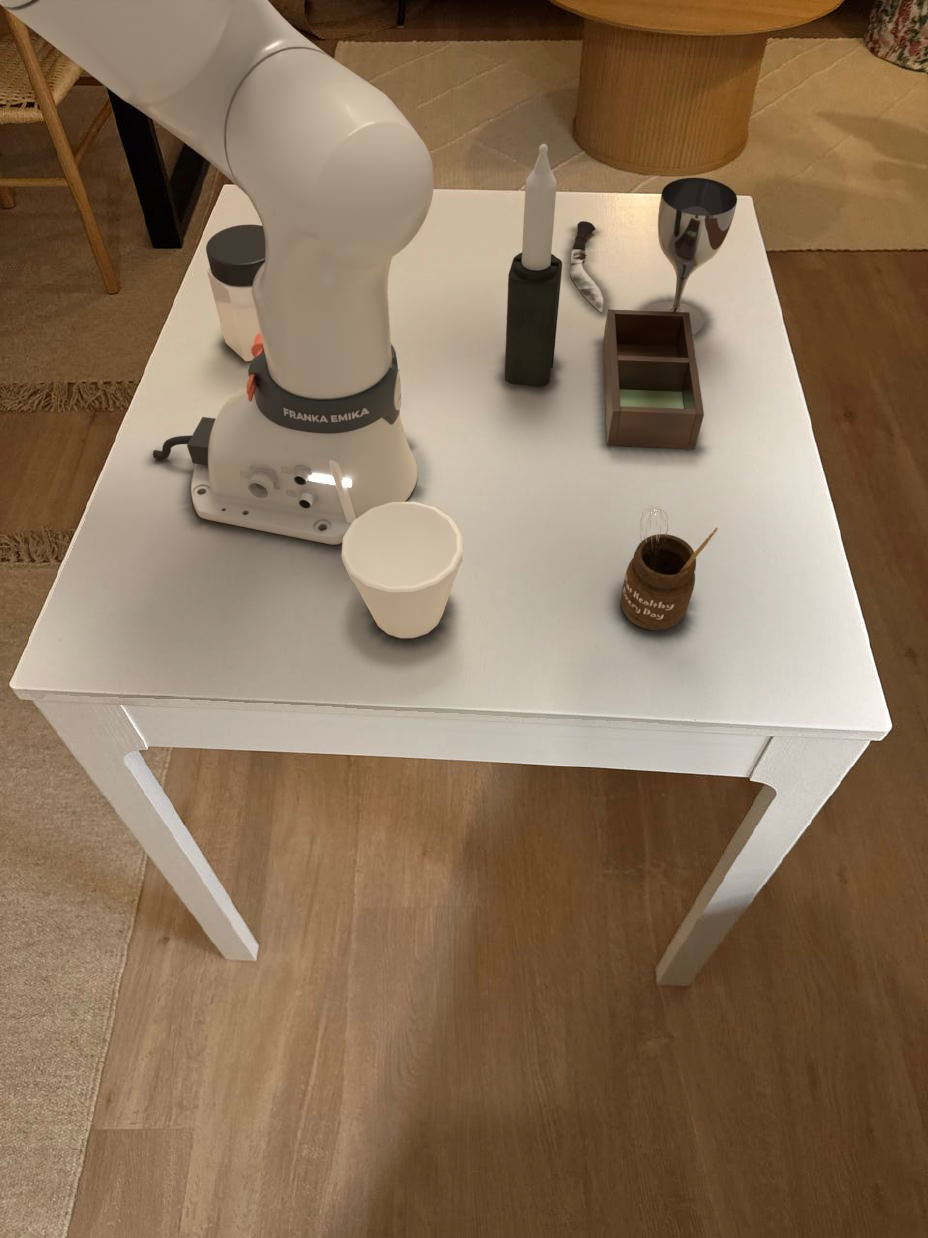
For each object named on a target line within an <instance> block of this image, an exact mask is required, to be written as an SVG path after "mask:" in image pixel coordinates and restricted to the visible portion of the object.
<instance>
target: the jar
mask: <svg viewBox="0 0 928 1238" xmlns="http://www.w3.org/2000/svg"><path fill="white" fill-rule="evenodd" d="M205 252H206V257H207V260H208V264H209V268H208V269H207V276H208V279H209V280H208V281H209V284H210V288H211V293H212V296H213V300H214V303H215V308H216V312H217V315H218V319H219V323H220V328H221V331H222V335H223V339H224V342H225V344H226V345H227V346H228V347H229V348H230V349H231V350H233V352H235V353H236V354H237V355H238V356H239V357H240V358H241V359H242V360H243V361H244V362H251V361H252V360H253V359H254V358H255V357H254V356H253V355H252V352H251V348H252V346H253V345H254V339H255V337H256V335H257V334H258V333H260V329H259V324H258V319H257V315H256V310H255V305H254V301H253V296H252V286H253V281H254V278H255V276H256V273H257V272H258V270H259V268H260V267H261V266H262V265H263V263H265V234H264V229H263V226H262V224H261V225H260V224H238V225H234V226H230V227H227V228H224V229H222V230H220V231H218V232H216V233H214V234H213V236H211V237H210V238H209V240H208V241H207V242H206V245H205Z"/></svg>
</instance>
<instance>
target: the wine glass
mask: <svg viewBox="0 0 928 1238" xmlns="http://www.w3.org/2000/svg"><path fill="white" fill-rule="evenodd" d="M660 194H661V195H660V201H659V205H658V214H657V238H658V244H659V248H660V249H661V252H662V253H663V255H664V256H665V257H666V259H667V260H668V262H669V263H670V264H671V265H672V267H673V270H674V272H675V278H676V280H675V291H674V292H675V294H674V299H673V301H660V302H657V303H655V304H652V305H650V306H648V308H647V309H645V311H666V312H689V313H690V320H691V327H692V334H693V336H694V335H696V334H697V333H699V332H700V331H701V330H702V329H703V327H704V323H705V321H704V317H703V315H702V313H701V312H700V311H699V310H698V309H697V308H695V307H693V306H691V305H689V304H687V303H683V302H682V297H683V294H684V291H685V288H686V285H687V283H688V280H689V278H690V276H691V275H692V274H693V273H694V272H695V271H696V270H697V269H699V268H700V267H701V266H704V265H705V264H707V262H709V261H710V260H711V259H713V258H714V257H715V256H716V255H717V254H718V253H719V251H720V250H721V248H722V246H723V245H724V242H725V241H726V238H727V236H728V235H729V232H730V229H731V226H732V224H733V221H734V217H735V213H736V208H737V203H738V195H737V194H736V192H735V191H734V190H733V189H732V188H731V187H730V186H727V185H726V184H724V183H722V182H720V181H718V180H715V179H709V178H704V177H684V178H678V179H676V180H674V181H671V182H669V183H668V184H666V185H665V186H664V187H663V189H662V191H661V193H660Z"/></svg>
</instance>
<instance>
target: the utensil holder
mask: <svg viewBox="0 0 928 1238" xmlns="http://www.w3.org/2000/svg"><path fill="white" fill-rule="evenodd" d="M646 510H647V508H646V509H645V508H644V510H643V511H642V513H641V518H640V519H639V524H640V527H643V517H644V516H645V515H646V514H647V513H649V515H648V518H647V521H646V525H645V535H647V533H648V531H647V530H648V522H649V524H650V525H649V528H650V530H652V513H654V516H655V518H657V514H656V512H657V513H658V514H660V512H663V513H664V514H665V515H666V516H668V514H667V512H665V510H663V509H661V507H659V506H655V508H654V507H653V506H650V508H649V510H647V511H646ZM645 511H646V512H645ZM659 511H660V512H659ZM644 512H645V513H644ZM661 518H663V521H664V524H665V527H666V532H665V533H659V534H658V533H656V534H653V535H652V534H650V536H645V535H644V531H643V529H641V533H642V536H643V539H642V536H641V534H639V537H640V543H639V544H638V545H637V547H636V549H635V550H634V553H633V557H632V558H631V560H630V562H629V563H628V566H627V568H626V571H625V576H624V579H623V583H622V589H621V593H620V594H621V596H620V598H621V599H620V604H621V608H622V611H623V613H624V615H625V616H626V618H627V619H628V620H629V621H630V622H631V623H632V624H634V625H636V626H637V627H638V628H639V627H640V628H641V629H644V630H648V631H664V630H668V629H671V628H673V627H675V626H677V625H678V624H679V623H680V622H681V621H682V619H683V618H684V616H685V615H686V613H687V611H688V608H689V605H690V601H691V599H692V595H693V592H694V588H695V584H696V570H697V569H696V568H697V557H698V556H699V555H700V554H701V552H703V550H704V549H705V547H706V546H707V545H708V543H709V542H710V541H711V539H712V538H713V536H714V535H715V534H716V532H717V531H718V530H719V528H718V527H715V528H714V530H713V531H711V533H710V534H709V535H708V536H707V537H706V538H705V540H704V541H703V542H702V543H701V544H700V546H699V547H698V548H697V549H696V550H694V549H693V547H692V546H691V545H690V544H689V543H688V542H687V541H686V540H684V539H682V538H680V537H678V536H676V535H672V534H668V530H669V529H668V528H669V521H668V520H669V519H668V518H669V517H666V519H665V517H664V516H663V515H661ZM649 520H650V521H649ZM657 521H658V520H657V519H655V523H656V526H658V522H657ZM659 527H660V528H659V532H661V530H662V526H659Z"/></svg>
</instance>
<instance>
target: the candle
mask: <svg viewBox="0 0 928 1238" xmlns="http://www.w3.org/2000/svg"><path fill="white" fill-rule="evenodd" d="M538 152H539V154H538V156H537V159H536V162H535V164H534V167H533V170H532V171H531V172H530V174H529V175H528V176H527V177H526V180H525V190H524V205H523V206H524V210H523V212H524V213H523V225H522V226H523V227H522V247H521V248H522V249H521V252H519V253H518V254H516V255H515V256H514V257H513V258H512V261H511V265H510V268H509V272H508V274H507V275H508V276H507V277H508V279H507V301H506V302H507V303H506V304H507V305H506V328H505V354H504V376H503V377H504V380H505V382H506V383H508V384H510V385H517V386H523V387H530V388H531V387H532V388H544V387H547V386H548V385H549V384H550V381H551V373H552V371H551V369H552V368H554V362H555V361H554V360H555V351H556V350H555V349H556V339H557V338H556V337H557V327H558V317H559V316H558V315H559V306H560V295H561V284H562V283H561V282H562V273H563V262H562V260H561V259H560V258H558V257H557V256H556V255H555V254H553V253H552V250H553V238H554V237H553V235H554V223H555V213H556V212H555V210H556V200H557V199H556V197H557V188H558V187H557V184H558V182H557V181H558V180H557V179H556V177H555V175H554V173H553V172H552V171H551V170H552V169H551V165H550V161H549V157H548V152H549V147H548V145H547V144H546V143H541V145H539V147H538Z"/></svg>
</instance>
